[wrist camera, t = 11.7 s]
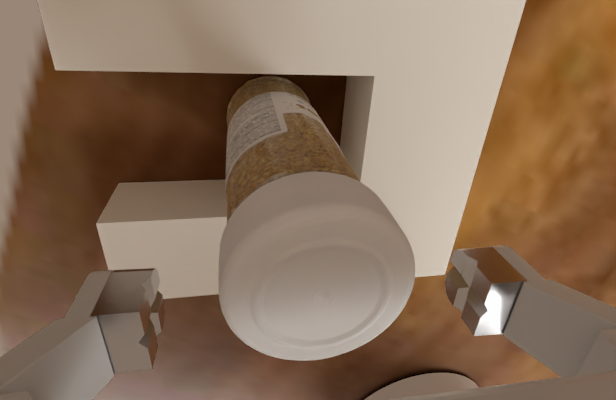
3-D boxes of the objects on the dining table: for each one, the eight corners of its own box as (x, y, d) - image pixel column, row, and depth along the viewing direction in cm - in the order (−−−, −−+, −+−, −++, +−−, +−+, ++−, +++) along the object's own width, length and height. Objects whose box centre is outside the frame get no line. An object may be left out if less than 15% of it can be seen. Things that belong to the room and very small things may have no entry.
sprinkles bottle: (327, 126, 21) (451, 304, 9) (260, 172, 21) (296, 394, 10) (278, 53, 18) (362, 167, 7) (205, 108, 19) (168, 297, 7)
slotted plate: (415, 236, 26) (444, 274, 22) (134, 254, 22) (117, 302, 19) (480, -43, 18) (540, -50, 14) (62, -78, 14) (11, -97, 11)
